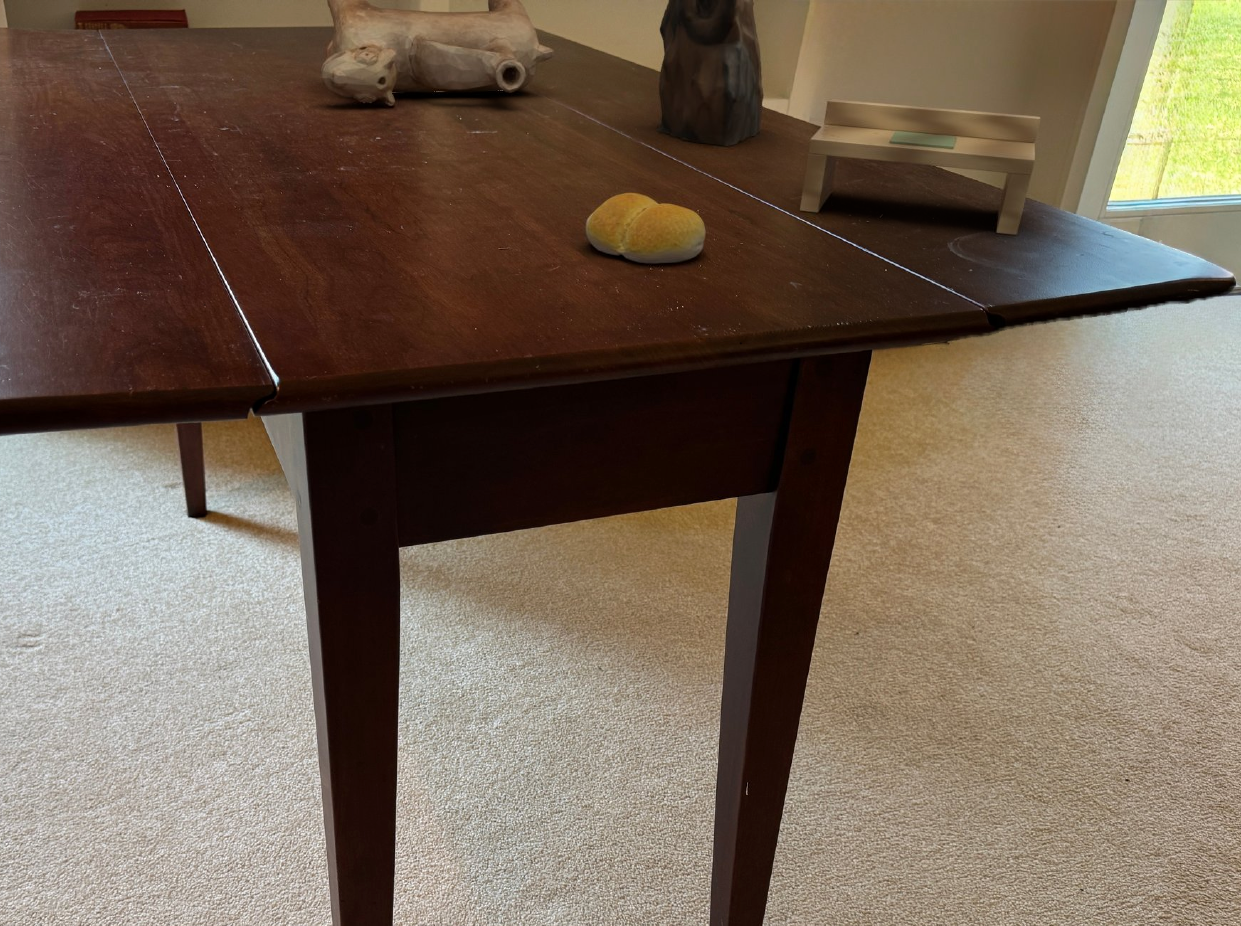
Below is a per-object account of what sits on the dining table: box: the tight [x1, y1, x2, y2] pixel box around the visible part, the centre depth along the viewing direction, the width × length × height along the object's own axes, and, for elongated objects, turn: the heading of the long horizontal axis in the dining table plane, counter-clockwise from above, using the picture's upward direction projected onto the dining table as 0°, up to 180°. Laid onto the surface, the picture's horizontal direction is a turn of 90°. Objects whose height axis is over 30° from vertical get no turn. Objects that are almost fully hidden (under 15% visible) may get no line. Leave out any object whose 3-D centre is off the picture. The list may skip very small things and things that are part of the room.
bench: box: [799, 98, 1041, 236], centre depth 99 cm, size 18×9×8 cm, turn 69°
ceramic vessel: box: [320, 0, 556, 104], centre depth 146 cm, size 13×31×25 cm
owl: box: [656, 0, 765, 147], centre depth 125 cm, size 13×13×20 cm
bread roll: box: [585, 192, 707, 264], centre depth 87 cm, size 8×9×4 cm
